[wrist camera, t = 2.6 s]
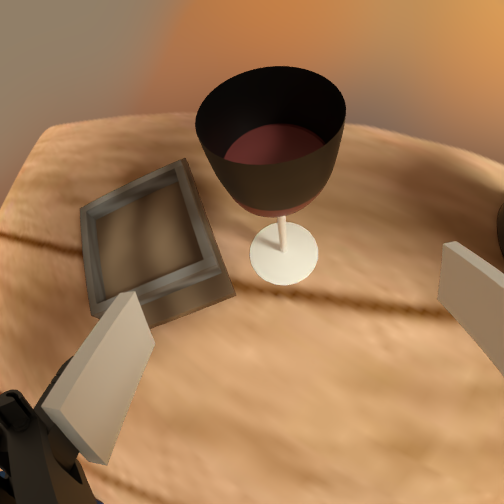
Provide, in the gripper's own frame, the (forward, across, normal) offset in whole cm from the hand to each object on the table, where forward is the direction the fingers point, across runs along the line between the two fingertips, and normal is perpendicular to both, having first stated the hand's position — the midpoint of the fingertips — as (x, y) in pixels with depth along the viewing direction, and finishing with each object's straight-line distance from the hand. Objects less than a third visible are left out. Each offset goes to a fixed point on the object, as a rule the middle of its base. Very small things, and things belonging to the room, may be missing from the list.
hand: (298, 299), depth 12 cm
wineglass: (+21, 0, -6) cm, 22 cm away
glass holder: (+23, -16, -4) cm, 28 cm away
